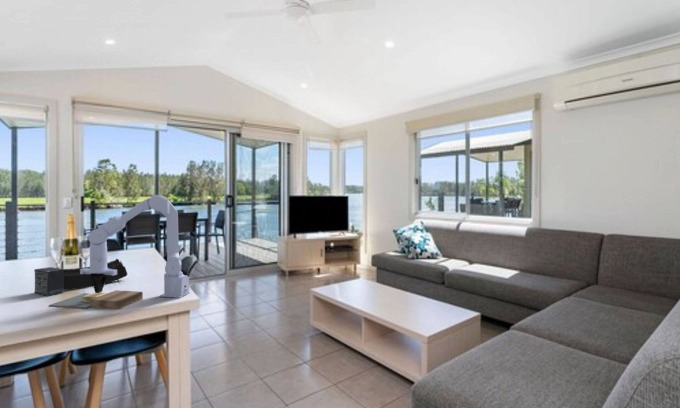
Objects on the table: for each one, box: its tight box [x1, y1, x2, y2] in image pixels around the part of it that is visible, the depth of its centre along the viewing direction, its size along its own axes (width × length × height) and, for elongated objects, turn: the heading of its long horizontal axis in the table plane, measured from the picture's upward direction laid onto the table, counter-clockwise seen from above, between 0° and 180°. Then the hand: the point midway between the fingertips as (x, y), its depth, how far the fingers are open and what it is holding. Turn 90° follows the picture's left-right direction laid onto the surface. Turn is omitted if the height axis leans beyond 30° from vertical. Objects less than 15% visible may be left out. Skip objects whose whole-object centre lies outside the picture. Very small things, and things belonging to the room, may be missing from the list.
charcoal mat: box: [48, 292, 91, 309], centre depth 140 cm, size 16×16×1 cm
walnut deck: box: [89, 289, 143, 310], centre depth 138 cm, size 12×13×3 cm
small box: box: [34, 266, 65, 297], centre depth 150 cm, size 11×6×10 cm, turn 65°
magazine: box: [56, 258, 128, 291], centre depth 161 cm, size 17×3×30 cm
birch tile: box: [82, 291, 109, 302], centre depth 140 cm, size 7×6×2 cm
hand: (98, 292), depth 139 cm, fingers closed
